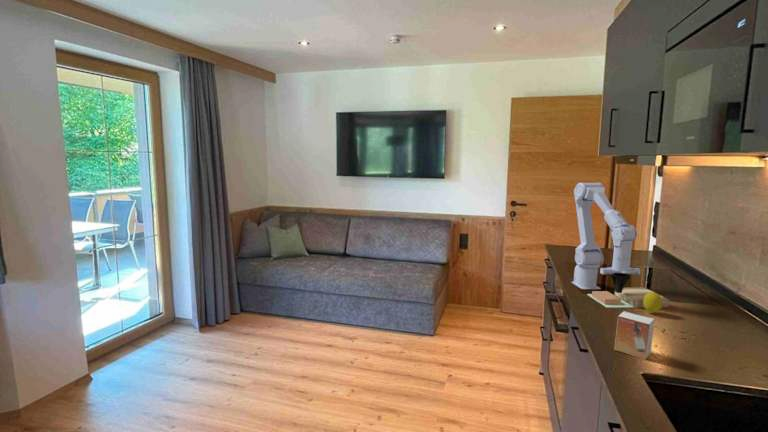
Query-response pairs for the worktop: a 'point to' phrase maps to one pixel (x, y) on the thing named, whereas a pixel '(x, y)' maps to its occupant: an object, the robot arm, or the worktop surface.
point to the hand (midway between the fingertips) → (618, 292)
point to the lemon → (652, 302)
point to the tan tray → (638, 297)
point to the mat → (622, 305)
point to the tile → (606, 297)
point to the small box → (634, 335)
